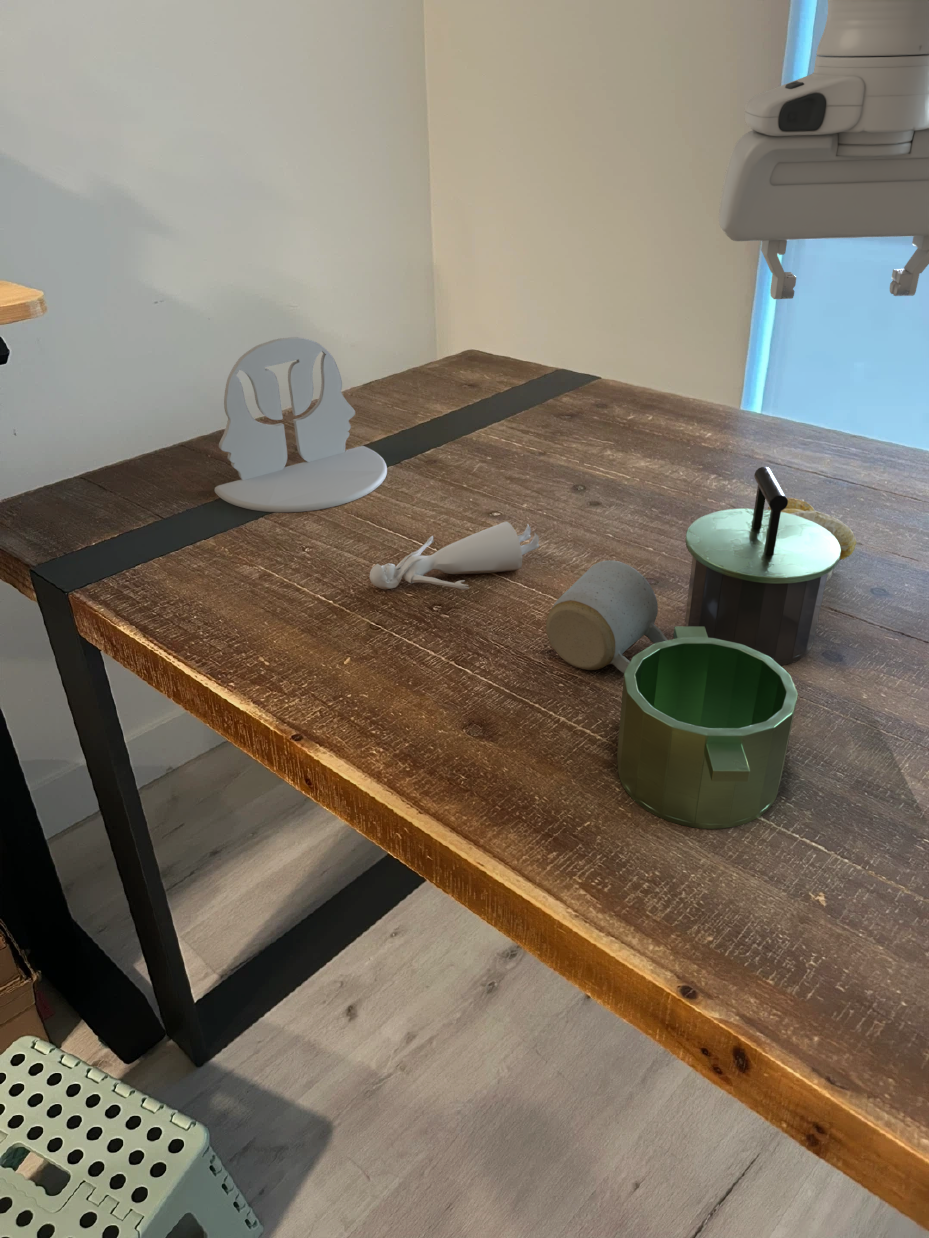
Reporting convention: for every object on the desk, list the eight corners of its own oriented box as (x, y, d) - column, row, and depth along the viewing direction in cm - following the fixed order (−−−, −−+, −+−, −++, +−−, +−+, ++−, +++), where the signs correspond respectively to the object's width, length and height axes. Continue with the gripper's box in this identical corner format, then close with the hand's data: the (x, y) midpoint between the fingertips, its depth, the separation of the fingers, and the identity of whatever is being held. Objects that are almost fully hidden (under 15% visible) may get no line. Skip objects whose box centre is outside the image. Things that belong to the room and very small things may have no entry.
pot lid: (815, 519, 92) (829, 450, 88) (858, 590, 81) (875, 514, 77) (674, 519, 93) (682, 450, 89) (697, 589, 82) (707, 514, 78)
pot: (752, 705, 82) (766, 619, 77) (805, 858, 67) (827, 763, 63) (607, 703, 82) (614, 618, 78) (629, 855, 68) (639, 761, 63)
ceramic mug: (538, 660, 88) (541, 586, 84) (582, 619, 93) (587, 548, 89) (645, 700, 83) (654, 624, 79) (685, 655, 88) (696, 582, 84)
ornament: (365, 448, 131) (355, 323, 122) (420, 480, 122) (414, 346, 113) (212, 491, 120) (189, 356, 111) (260, 529, 111) (239, 386, 102)
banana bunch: (760, 534, 95) (771, 467, 107) (742, 584, 99) (755, 514, 110) (864, 561, 93) (864, 490, 105) (842, 611, 97) (845, 537, 108)
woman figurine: (556, 544, 97) (382, 587, 93) (557, 582, 99) (388, 626, 95) (512, 497, 106) (352, 535, 102) (514, 533, 109) (358, 571, 105)
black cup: (795, 600, 96) (811, 517, 91) (828, 668, 86) (847, 579, 81) (676, 600, 96) (685, 517, 92) (695, 667, 87) (707, 579, 82)
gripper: (1001, 92, 73) (958, 283, 80) (724, 102, 74) (706, 290, 81) (1041, 98, 68) (991, 302, 75) (742, 109, 68) (721, 309, 76)
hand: (841, 296), depth 78 cm, fingers open, 8 cm apart
